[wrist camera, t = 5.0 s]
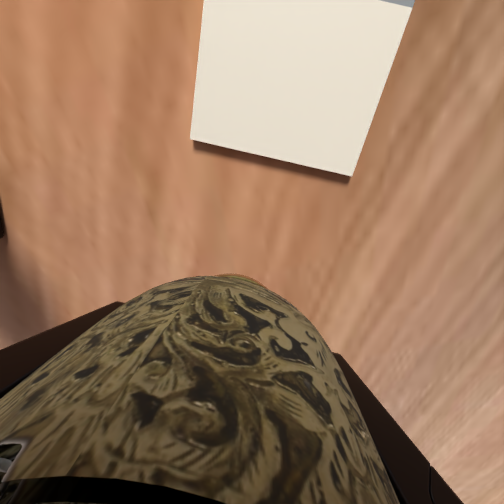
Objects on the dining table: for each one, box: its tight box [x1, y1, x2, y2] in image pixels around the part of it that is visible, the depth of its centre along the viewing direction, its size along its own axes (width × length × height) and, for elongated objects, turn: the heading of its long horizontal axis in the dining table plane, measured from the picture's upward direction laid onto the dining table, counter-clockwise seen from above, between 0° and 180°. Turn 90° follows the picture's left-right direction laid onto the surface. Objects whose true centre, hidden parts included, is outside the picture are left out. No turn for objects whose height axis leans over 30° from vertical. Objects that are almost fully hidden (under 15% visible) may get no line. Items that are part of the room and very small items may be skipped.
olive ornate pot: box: [0, 274, 400, 504], centre depth 6 cm, size 8×7×8 cm
